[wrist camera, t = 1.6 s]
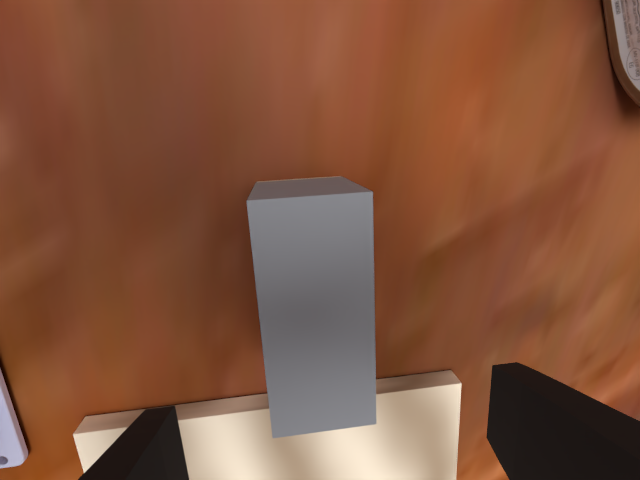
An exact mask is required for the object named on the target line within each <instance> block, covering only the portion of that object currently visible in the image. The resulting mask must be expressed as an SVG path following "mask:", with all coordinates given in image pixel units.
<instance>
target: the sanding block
mask: <svg viewBox="0 0 640 480" xmlns="http://www.w3.org/2000/svg"><path fill="white" fill-rule="evenodd" d="M247 210H248V219H249V228H250V238H251V247H252V256H253V265H254V274H255V283H256V292H257V301H258V311H259V320H260V329H261V338H262V347H263V356H264V365H265V374H266V384H267V393H268V402H269V411H270V420H271V429H272V438H280V437H287V436H294V435H302V434H309V433H316V432H323V431H331V430H338V429H345V428H352V427H360V426H367V425H374V424H376V359H375V295H374V231H373V191H371V190H369V189H367V188H364V187H362V186H360V185H358V184H356V183H354V182H352V181H350V180H348V179H346V178H344V177H342V176H332V177H317V178H302V179H287V180H272V181H257V182H256V183H255V185H254V187H253V189H252V191H251V193H250V195H249V197H248V199H247Z"/></svg>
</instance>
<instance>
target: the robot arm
mask: <svg viewBox="0 0 640 480" xmlns="http://www.w3.org/2000/svg"><path fill="white" fill-rule="evenodd" d="M487 439H488V441H489V443H490V445H491V447H492V448H493V450H494V452H495V454H496V456H497V458H498V460H499V462H500V464H501V465H502V467H503V469H504V471H505V472H506V474H507V476H508V478H509V480H640V421H638V420H636V419H634V418H632V417H630V416H627V415H625V414H623V413H621V412H619V411H617V410H615V409H613V408H611V407H609V406H607V405H605V404H603V403H601V402H599V401H597V400H595V399H593V398H591V397H589V396H587V395H585V394H583V393H581V392H579V391H577V390H575V389H573V388H571V387H569V386H567V385H565V384H563V383H561V382H559V381H557V380H555V379H553V378H551V377H549V376H546V375H544V374H542V373H540V372H538V371H536V370H534V369H532V368H529V367H527V366H525V365H522V364H520V363H517V362H515V363H508V364H500V365H493V366H492V378H491V390H490V402H489V415H488V427H487ZM5 457H6V458H5ZM27 457H28V450H27V447H26V444H25V441H24V438H23V435H22V432H21V429H20V426H19V423H18V420H17V417H16V414H15V411H14V408H13V405H12V402H11V399H10V396H9V393H8V390H7V387H6V384H5V381H4V378H3V375H2V372H1V369H0V468H6V467H14V466H19V465H21V464H22V463H23V462H24V461H25V460H26V459H27ZM78 480H189V475H188V470H187V465H186V460H185V455H184V449H183V444H182V439H181V434H180V429H179V423H178V418H177V413H176V408H175V406H168V407H160V408H152V409H145V410H144V411H143V412H142V413H141V414H140V415H139V416H138V417H137V418H136V419H135V421H134V422H133V423H132V424H131V425H130V426H129V427H128V428H127V429H126V430H125V431H124V432H123V433H122V434H121V435H120V436H119V437H118V438H117V439H116V440H115V442H114V443H113V444H112V445H111V446H110V447H109V448H108V449H107V450H106V451H105V452H104V453H103V454H102V455H101V456H100V457H99V458H98V459H97V460H96V462H95V463H94V464H93V465H92V466H91V467H90V468H89V469H88V470H87V471H86V472H85V473H84V474H83V475H82V476H81V477H80V478H79V479H78Z"/></svg>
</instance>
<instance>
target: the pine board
mask: <svg viewBox="0 0 640 480" xmlns="http://www.w3.org/2000/svg"><path fill="white" fill-rule="evenodd" d="M460 400H461V382H460V381H459V379H458V378H457V377H456V376H455V374H454V373H453V372H452V370H447V371H439V372H431V373H424V374H416V375H408V376H400V377H392V378H384V379H376V424H374V425H367V426H360V427H352V428H345V429H338V430H331V431H323V432H316V433H309V434H302V435H294V436H287V437H280V438H272V429H271V420H270V411H269V402H268V393H266V394H258V395H251V396H243V397H235V398H227V399H219V400H211V401H203V402H196V403H188V404H180V405H172V406H175V408H176V413H177V418H178V423H179V429H180V434H181V439H182V444H183V449H184V455H185V460H186V465H187V470H188V475H189V480H456V471H457V454H458V436H459V418H460ZM164 407H168V406H164ZM156 408H160V407H156ZM148 409H152V408H148ZM144 410H145V409H141V410H133V411H125V412H117V413H109V414H101V415H93V416H86V417H85V418H84V419H83V421H82V422H81V423H80V425H79V426H78V428H77V429H76V431H75V432H74V433H73V437H74V440H75V443H76V447H77V450H78V454H79V457H80V461H81V464H82V468H83V471H84V473H85V472H86V471H87V470H88V469H89V468H90V467H91V466H92V465H93V464H94V463H95V462H96V460H97V459H98V458H99V457H100V456H101V455H102V454H103V453H104V452H105V451H106V450H107V449H108V448H109V447H110V446H111V445H112V444H113V443H114V442H115V440H116V439H117V438H118V437H119V436H120V435H121V434H122V433H123V432H124V431H125V430H126V429H127V428H128V427H129V426H130V425H131V424H132V423H133V422H134V421H135V419H136V418H137V417H138V416H139V415H140V414H141V413H142V412H143V411H144Z"/></svg>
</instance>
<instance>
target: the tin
mask: <svg viewBox="0 0 640 480" xmlns="http://www.w3.org/2000/svg"><path fill="white" fill-rule="evenodd" d="M602 1H603V8H604V15H605V23H606V30H607V37H608V44H609V52H610V56H611V60H612V64H613V68H614V71H615V73H616V76H617V78H618V80H619V82H620V84H621V85H622V87H623V89H624V90H625V91H626V93H627V94H628V96H629V97H630V98H631V99H632V100H633V101H634V102H635V103H636V104H637V105H638V106H639V107H640V0H602Z"/></svg>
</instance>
